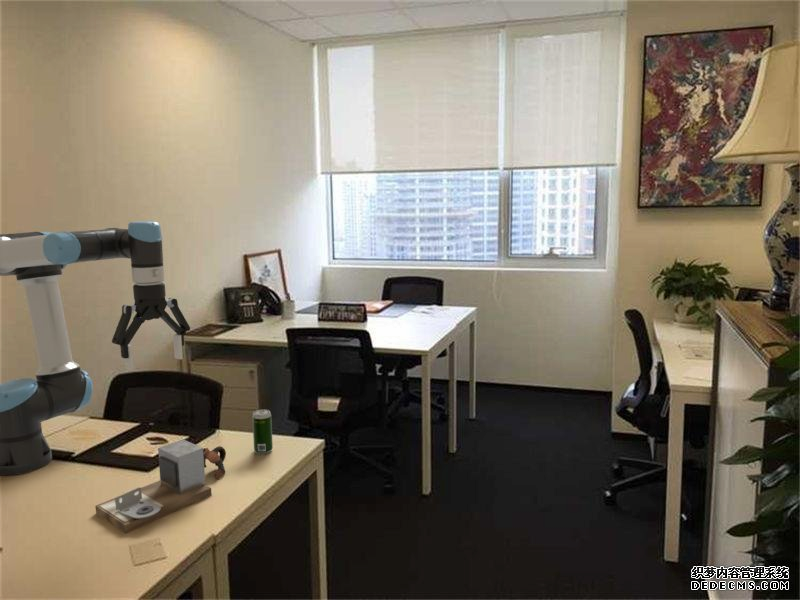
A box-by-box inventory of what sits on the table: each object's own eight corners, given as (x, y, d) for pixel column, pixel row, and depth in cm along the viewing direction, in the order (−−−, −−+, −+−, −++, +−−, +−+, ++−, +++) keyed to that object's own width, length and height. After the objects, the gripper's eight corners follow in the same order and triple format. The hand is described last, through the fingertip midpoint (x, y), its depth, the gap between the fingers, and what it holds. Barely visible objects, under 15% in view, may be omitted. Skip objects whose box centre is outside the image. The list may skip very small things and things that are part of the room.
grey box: (158, 485, 157) (155, 448, 156) (185, 474, 163) (182, 439, 162) (178, 496, 152) (175, 458, 150) (205, 484, 158) (203, 447, 156)
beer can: (272, 453, 181) (271, 414, 179) (254, 455, 180) (252, 416, 178) (272, 446, 186) (271, 408, 184) (254, 448, 185) (252, 410, 183)
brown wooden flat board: (96, 513, 148) (95, 505, 147) (180, 479, 165) (179, 471, 165) (125, 533, 139) (125, 524, 139) (211, 495, 157) (211, 487, 156)
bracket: (141, 524, 139) (140, 509, 138) (115, 511, 145) (114, 497, 144) (166, 511, 144) (165, 497, 144) (141, 499, 150) (140, 486, 149)
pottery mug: (214, 487, 162) (196, 462, 160) (192, 494, 167) (174, 470, 165) (240, 458, 172) (223, 434, 171) (219, 465, 177) (202, 443, 175)
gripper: (107, 290, 144) (115, 378, 148) (200, 278, 164) (205, 356, 167) (92, 287, 149) (100, 372, 153) (184, 276, 168) (189, 351, 172)
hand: (155, 364), depth 160 cm, fingers open, 13 cm apart
